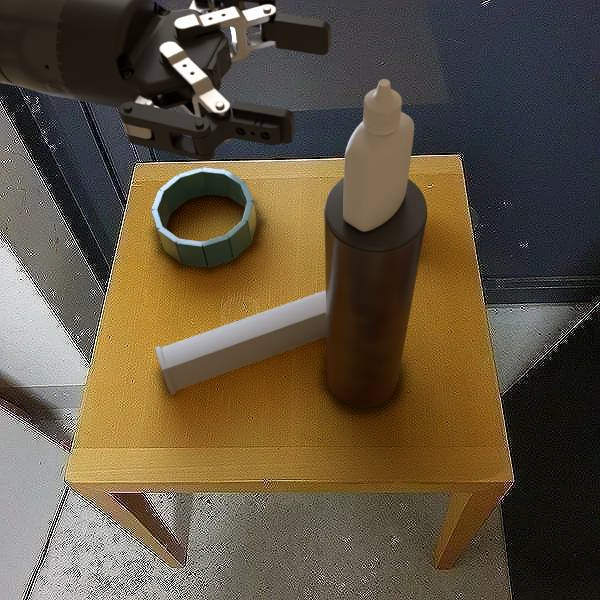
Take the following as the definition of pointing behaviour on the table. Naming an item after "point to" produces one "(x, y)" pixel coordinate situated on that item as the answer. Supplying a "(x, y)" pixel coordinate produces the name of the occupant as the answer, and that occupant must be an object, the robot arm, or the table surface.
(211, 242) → the teal segmented ring
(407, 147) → the eye dropper bottle
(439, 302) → the table surface
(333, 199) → the stand
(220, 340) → the tube
